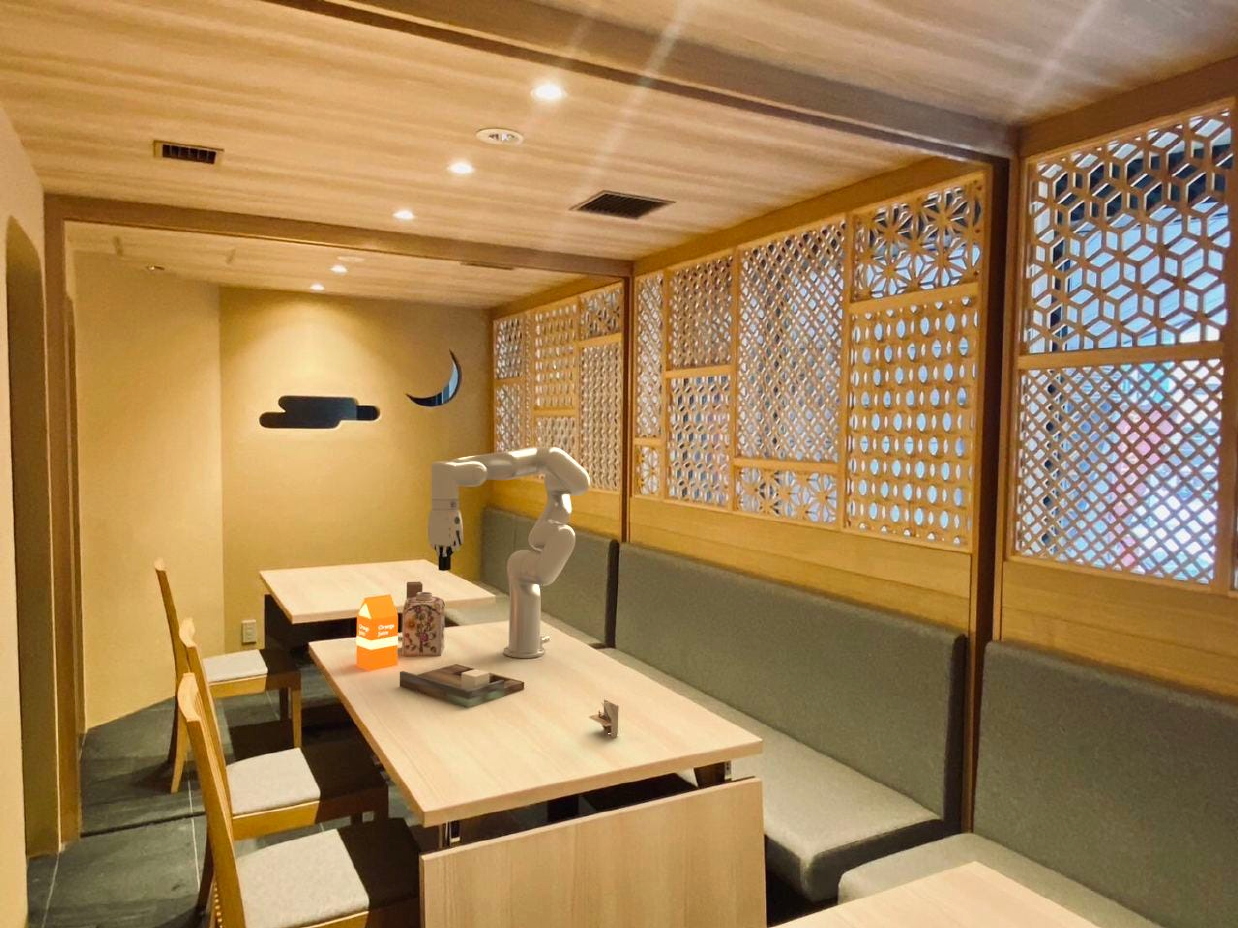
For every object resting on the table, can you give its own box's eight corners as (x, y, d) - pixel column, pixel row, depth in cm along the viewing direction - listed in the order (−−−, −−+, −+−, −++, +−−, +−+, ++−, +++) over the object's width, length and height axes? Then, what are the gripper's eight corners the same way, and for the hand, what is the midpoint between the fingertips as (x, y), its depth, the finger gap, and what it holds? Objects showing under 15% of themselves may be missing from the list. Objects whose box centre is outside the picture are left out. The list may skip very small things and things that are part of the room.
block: (475, 686, 228) (475, 668, 228) (489, 689, 225) (489, 672, 225) (461, 690, 224) (461, 672, 224) (474, 694, 221) (475, 676, 221)
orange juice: (397, 665, 253) (398, 596, 252) (370, 671, 246) (371, 600, 245) (382, 659, 258) (383, 592, 257) (355, 665, 252) (356, 595, 251)
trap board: (456, 670, 248) (456, 656, 248) (524, 689, 233) (524, 674, 233) (399, 686, 232) (399, 671, 232) (468, 707, 217) (468, 691, 217)
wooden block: (433, 634, 289) (434, 580, 289) (435, 638, 285) (436, 583, 284) (405, 636, 286) (406, 581, 285) (407, 639, 282) (408, 584, 281)
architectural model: (605, 741, 198) (606, 708, 198) (588, 731, 204) (589, 700, 203) (618, 738, 200) (619, 705, 200) (600, 729, 206) (601, 697, 205)
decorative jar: (406, 646, 274) (407, 589, 273) (444, 646, 275) (445, 589, 274) (401, 656, 262) (402, 596, 261) (441, 656, 263) (442, 596, 262)
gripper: (473, 506, 246) (473, 571, 247) (436, 502, 255) (436, 565, 256) (454, 508, 240) (453, 575, 241) (416, 504, 248) (416, 568, 249)
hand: (444, 569), depth 248 cm, fingers closed
